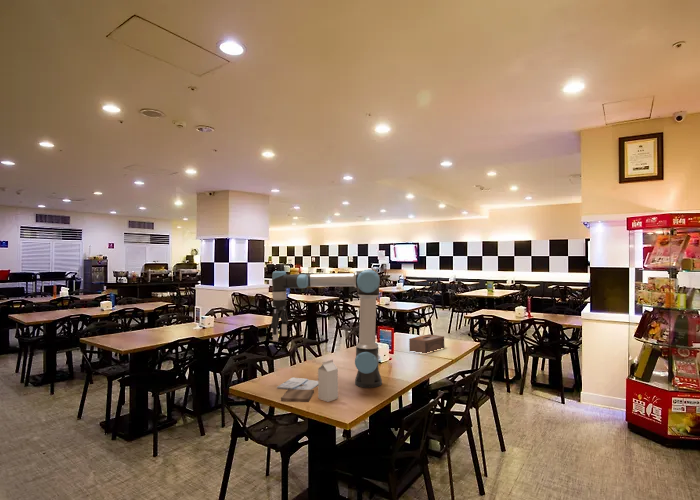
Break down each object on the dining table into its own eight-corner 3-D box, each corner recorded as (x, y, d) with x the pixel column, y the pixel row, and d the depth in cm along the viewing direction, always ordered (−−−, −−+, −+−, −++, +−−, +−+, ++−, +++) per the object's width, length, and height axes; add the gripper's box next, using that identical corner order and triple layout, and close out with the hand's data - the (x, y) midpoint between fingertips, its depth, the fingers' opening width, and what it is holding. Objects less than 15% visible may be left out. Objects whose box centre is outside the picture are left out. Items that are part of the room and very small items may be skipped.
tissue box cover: (425, 354, 292) (424, 341, 293) (409, 351, 303) (409, 338, 303) (444, 349, 310) (444, 336, 311) (429, 346, 321) (428, 334, 321)
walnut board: (314, 392, 209) (313, 389, 209) (308, 401, 195) (308, 398, 195) (288, 392, 210) (288, 389, 210) (280, 401, 196) (280, 398, 196)
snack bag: (293, 379, 234) (293, 376, 234) (324, 383, 227) (324, 379, 227) (275, 389, 217) (275, 385, 217) (308, 393, 209) (308, 389, 209)
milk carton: (338, 398, 199) (337, 360, 200) (327, 402, 194) (327, 363, 195) (328, 395, 204) (328, 358, 205) (318, 399, 199) (317, 361, 200)
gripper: (281, 297, 229) (281, 334, 228) (264, 301, 205) (264, 342, 204) (293, 297, 228) (294, 334, 227) (277, 301, 203) (278, 342, 203)
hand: (280, 338), depth 215 cm, fingers open, 13 cm apart
